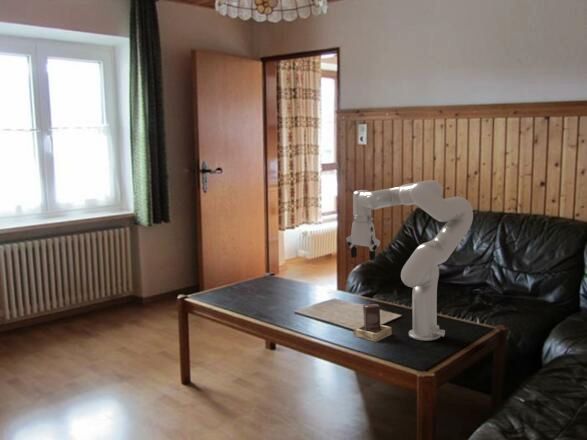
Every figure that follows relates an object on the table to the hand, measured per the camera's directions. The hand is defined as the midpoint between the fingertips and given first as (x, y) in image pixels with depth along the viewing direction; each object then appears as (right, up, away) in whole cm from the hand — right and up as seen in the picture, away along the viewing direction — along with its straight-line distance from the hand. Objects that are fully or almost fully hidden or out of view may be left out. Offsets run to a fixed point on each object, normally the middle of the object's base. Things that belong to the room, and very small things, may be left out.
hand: (363, 258), depth 261 cm
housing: (+2, -31, -13) cm, 33 cm away
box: (+2, -30, -13) cm, 33 cm away
